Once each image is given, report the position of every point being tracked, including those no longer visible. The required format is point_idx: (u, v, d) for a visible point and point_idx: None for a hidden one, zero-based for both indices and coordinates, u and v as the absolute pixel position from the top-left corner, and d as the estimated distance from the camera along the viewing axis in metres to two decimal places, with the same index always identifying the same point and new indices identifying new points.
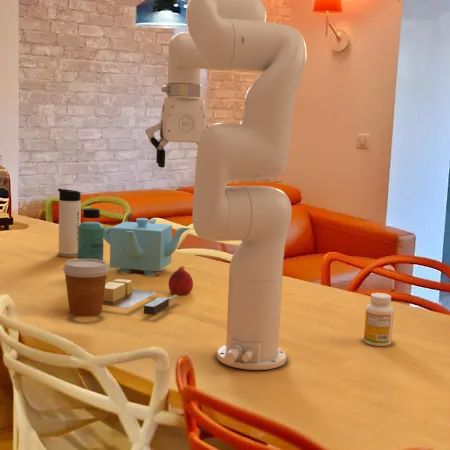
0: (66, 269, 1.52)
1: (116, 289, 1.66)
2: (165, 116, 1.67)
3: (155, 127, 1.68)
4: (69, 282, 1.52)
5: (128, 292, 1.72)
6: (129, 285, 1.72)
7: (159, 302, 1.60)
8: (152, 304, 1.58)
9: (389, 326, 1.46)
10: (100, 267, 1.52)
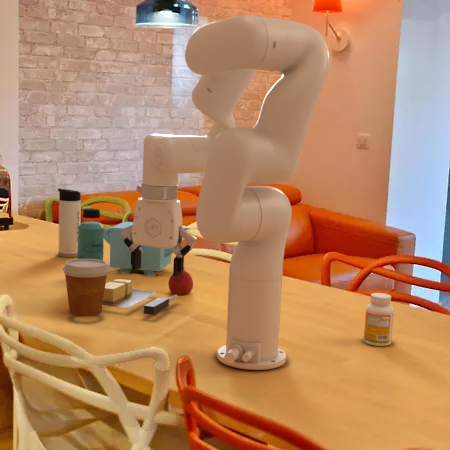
0: (66, 269, 1.52)
1: (116, 289, 1.66)
2: None
3: (128, 228, 1.60)
4: (69, 282, 1.52)
5: (128, 292, 1.72)
6: (129, 285, 1.72)
7: (159, 302, 1.60)
8: (152, 304, 1.58)
9: (389, 326, 1.46)
10: (100, 267, 1.52)
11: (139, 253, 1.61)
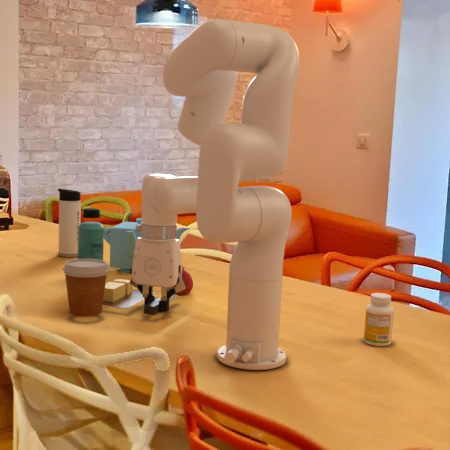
0: (66, 269, 1.52)
1: (116, 289, 1.66)
2: (133, 257, 1.58)
3: None
4: (69, 282, 1.52)
5: (128, 292, 1.72)
6: (129, 285, 1.72)
7: None
8: (152, 304, 1.58)
9: (389, 326, 1.46)
10: (100, 267, 1.52)
11: (152, 299, 1.61)
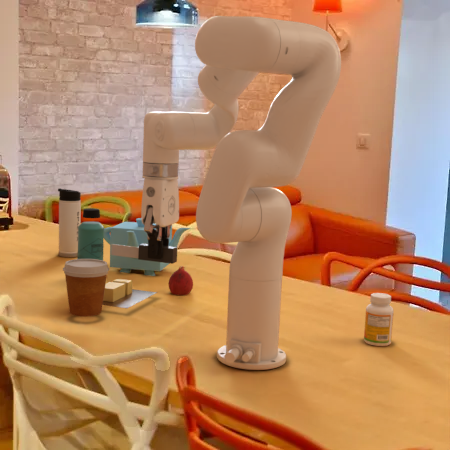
0: (66, 269, 1.52)
1: (116, 289, 1.66)
2: (159, 201, 1.52)
3: (151, 220, 1.53)
4: (69, 282, 1.52)
5: (128, 292, 1.72)
6: (129, 285, 1.72)
7: None
8: (168, 247, 1.58)
9: (389, 326, 1.46)
10: (100, 267, 1.52)
11: None
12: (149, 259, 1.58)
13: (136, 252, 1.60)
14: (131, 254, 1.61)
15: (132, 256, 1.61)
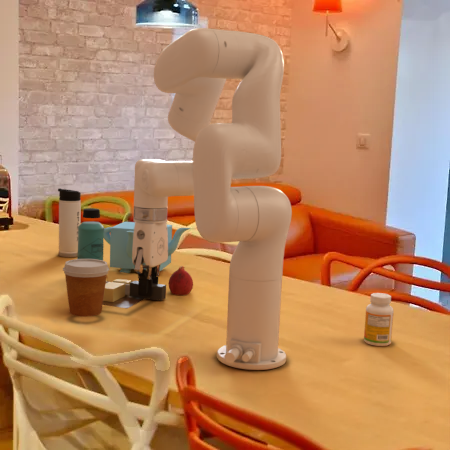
0: (66, 269, 1.52)
1: (116, 289, 1.66)
2: (149, 243, 1.62)
3: (141, 261, 1.63)
4: (69, 282, 1.52)
5: None
6: None
7: None
8: (158, 285, 1.68)
9: (389, 326, 1.46)
10: (100, 267, 1.52)
11: None
12: (139, 296, 1.69)
13: (127, 289, 1.71)
14: None
15: None
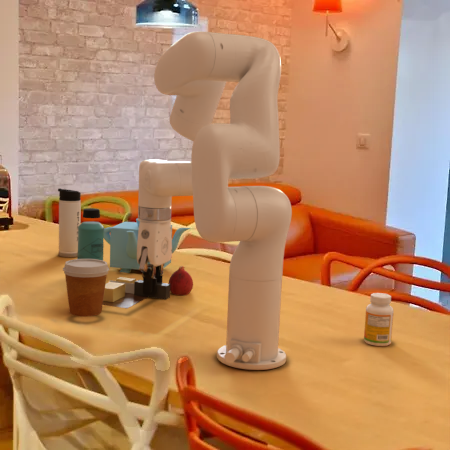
0: (66, 269, 1.52)
1: (116, 289, 1.66)
2: (153, 243, 1.64)
3: (146, 261, 1.65)
4: (69, 282, 1.52)
5: None
6: None
7: None
8: (162, 284, 1.70)
9: (389, 326, 1.46)
10: (100, 267, 1.52)
11: None
12: (144, 295, 1.71)
13: (132, 288, 1.73)
14: (127, 290, 1.73)
15: (128, 292, 1.73)
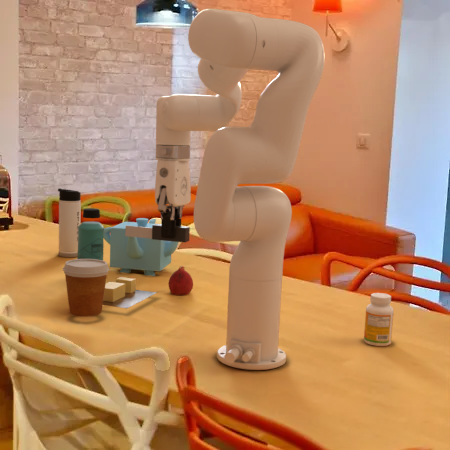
0: (66, 269, 1.52)
1: (116, 289, 1.66)
2: (172, 181, 1.58)
3: (165, 200, 1.58)
4: (69, 282, 1.52)
5: (132, 290, 1.74)
6: (132, 284, 1.74)
7: None
8: (181, 226, 1.64)
9: (389, 326, 1.46)
10: (100, 267, 1.52)
11: None
12: (162, 239, 1.64)
13: (150, 232, 1.66)
14: (145, 235, 1.66)
15: (146, 236, 1.66)
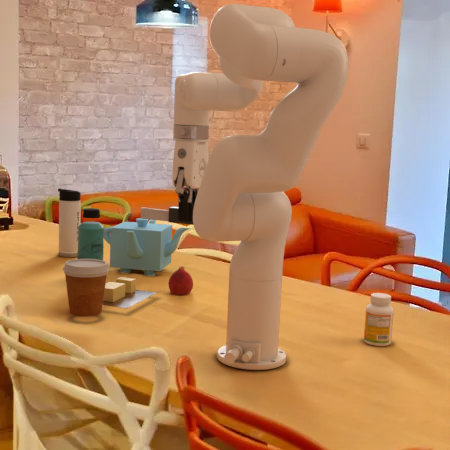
0: (66, 269, 1.52)
1: (116, 289, 1.66)
2: (190, 162, 1.53)
3: (182, 182, 1.53)
4: (69, 282, 1.52)
5: (132, 290, 1.74)
6: (132, 284, 1.74)
7: None
8: None
9: (389, 326, 1.46)
10: (100, 267, 1.52)
11: None
12: (179, 222, 1.59)
13: (166, 215, 1.61)
14: (161, 217, 1.62)
15: (162, 219, 1.62)
